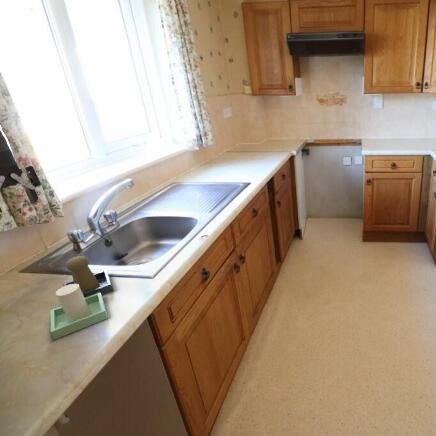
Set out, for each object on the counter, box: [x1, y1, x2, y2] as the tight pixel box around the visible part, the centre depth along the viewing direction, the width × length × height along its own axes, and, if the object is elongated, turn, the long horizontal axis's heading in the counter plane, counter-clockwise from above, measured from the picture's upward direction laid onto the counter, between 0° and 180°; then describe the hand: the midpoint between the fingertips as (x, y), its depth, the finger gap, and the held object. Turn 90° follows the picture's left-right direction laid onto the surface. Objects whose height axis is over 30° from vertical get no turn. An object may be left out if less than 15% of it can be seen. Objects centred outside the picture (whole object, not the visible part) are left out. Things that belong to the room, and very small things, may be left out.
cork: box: [65, 255, 100, 293], centre depth 96 cm, size 6×6×11 cm
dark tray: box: [62, 269, 115, 298], centre depth 98 cm, size 12×11×2 cm
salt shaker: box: [55, 284, 91, 322], centre depth 85 cm, size 5×5×9 cm
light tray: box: [49, 293, 109, 340], centre depth 87 cm, size 12×11×2 cm
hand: (17, 207), depth 91 cm, fingers open, 8 cm apart
